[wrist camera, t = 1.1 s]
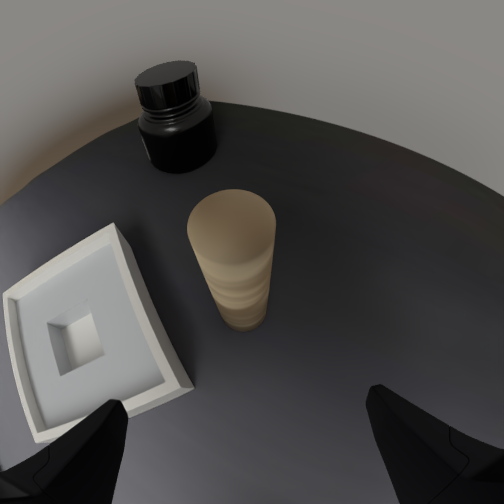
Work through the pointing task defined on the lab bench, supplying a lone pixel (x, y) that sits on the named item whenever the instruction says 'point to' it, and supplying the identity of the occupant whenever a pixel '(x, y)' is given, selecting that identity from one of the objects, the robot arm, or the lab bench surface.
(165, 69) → the ink bottle
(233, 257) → the peg
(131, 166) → the lab bench surface
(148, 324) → the box
